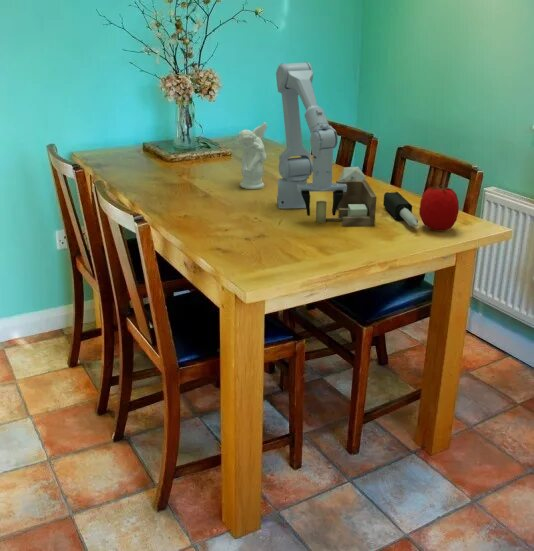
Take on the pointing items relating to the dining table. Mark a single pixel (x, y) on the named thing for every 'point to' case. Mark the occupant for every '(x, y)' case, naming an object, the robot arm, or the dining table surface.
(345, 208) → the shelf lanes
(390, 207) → the black and grey rod
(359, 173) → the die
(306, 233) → the dining table surface
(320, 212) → the pull block
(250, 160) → the cherub figurine
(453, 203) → the red apple
